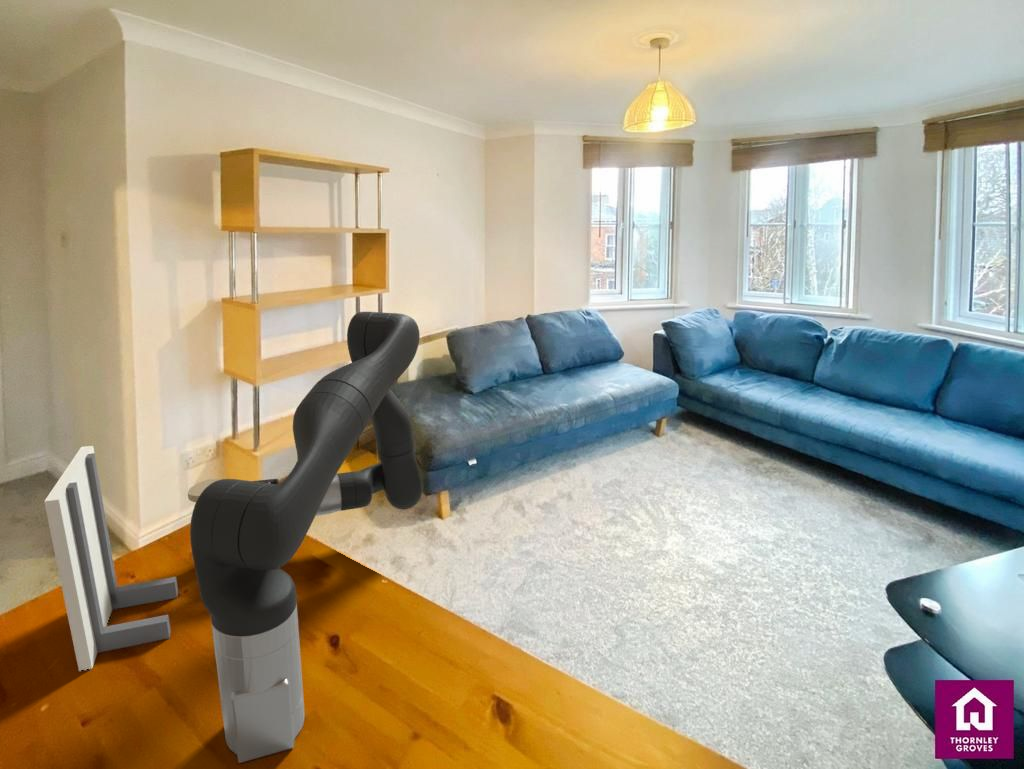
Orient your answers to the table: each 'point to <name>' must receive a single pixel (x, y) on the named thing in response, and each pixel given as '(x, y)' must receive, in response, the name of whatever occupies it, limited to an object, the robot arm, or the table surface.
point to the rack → (96, 568)
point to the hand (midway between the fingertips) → (216, 509)
